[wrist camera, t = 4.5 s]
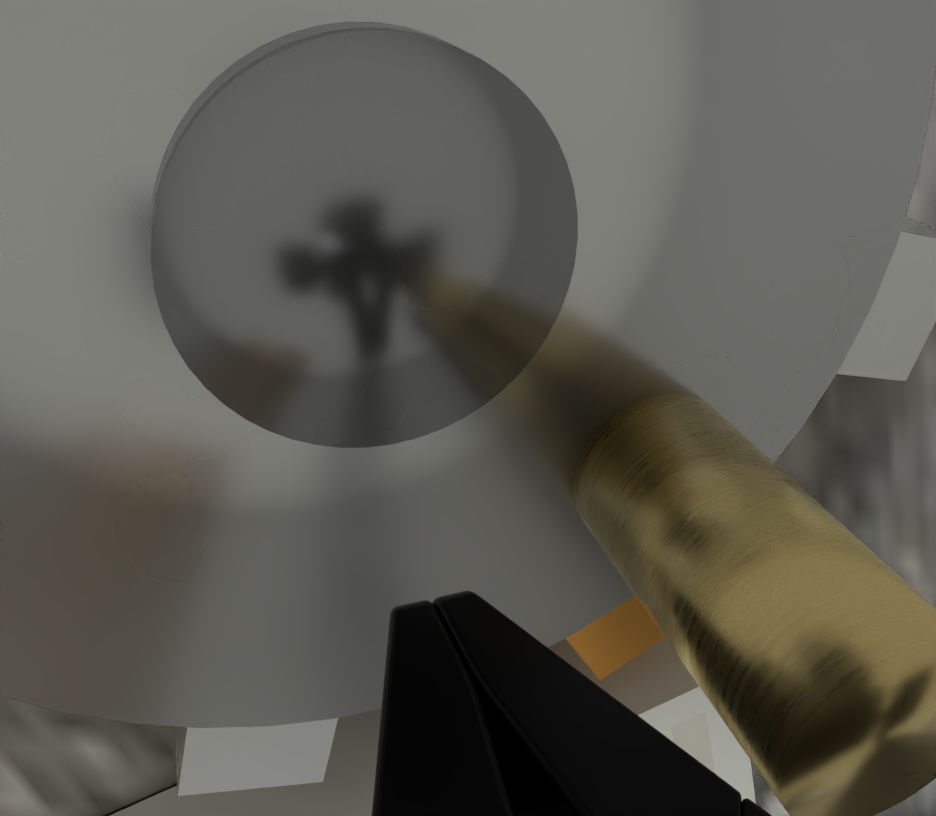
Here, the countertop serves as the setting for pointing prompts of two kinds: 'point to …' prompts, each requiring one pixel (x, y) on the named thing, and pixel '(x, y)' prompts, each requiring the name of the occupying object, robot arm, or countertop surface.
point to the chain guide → (356, 739)
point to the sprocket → (455, 359)
